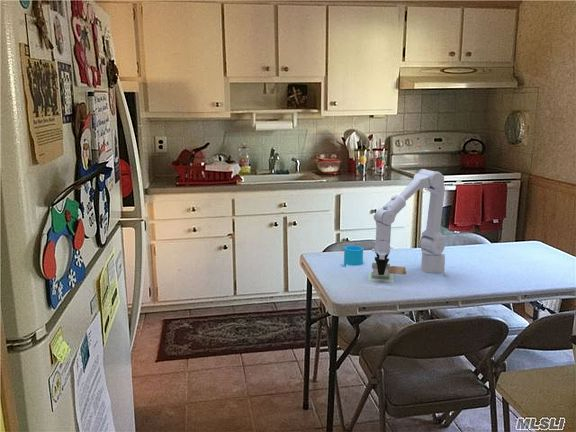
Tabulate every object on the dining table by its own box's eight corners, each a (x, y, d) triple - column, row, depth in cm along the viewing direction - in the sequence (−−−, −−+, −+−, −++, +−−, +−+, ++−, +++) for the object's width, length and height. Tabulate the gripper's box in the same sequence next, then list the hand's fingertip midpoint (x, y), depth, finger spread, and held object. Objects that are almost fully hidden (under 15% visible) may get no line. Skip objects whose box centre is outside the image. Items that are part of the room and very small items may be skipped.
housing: (389, 276, 209) (389, 263, 208) (389, 279, 205) (389, 266, 204) (371, 274, 210) (372, 262, 209) (371, 278, 206) (372, 265, 205)
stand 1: (393, 277, 212) (393, 274, 212) (393, 285, 202) (393, 282, 202) (368, 275, 214) (368, 272, 213) (367, 283, 204) (367, 280, 204)
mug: (364, 268, 224) (365, 250, 222) (346, 269, 222) (347, 251, 220) (356, 260, 235) (357, 243, 233) (339, 261, 234) (339, 243, 232)
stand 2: (405, 270, 222) (405, 266, 221) (405, 277, 212) (405, 274, 212) (381, 268, 223) (381, 265, 223) (381, 275, 214) (381, 272, 213)
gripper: (373, 233, 212) (371, 265, 215) (372, 243, 198) (370, 276, 201) (390, 234, 211) (389, 266, 214) (390, 244, 197) (388, 278, 200)
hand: (381, 271), depth 207 cm, fingers open, 7 cm apart
